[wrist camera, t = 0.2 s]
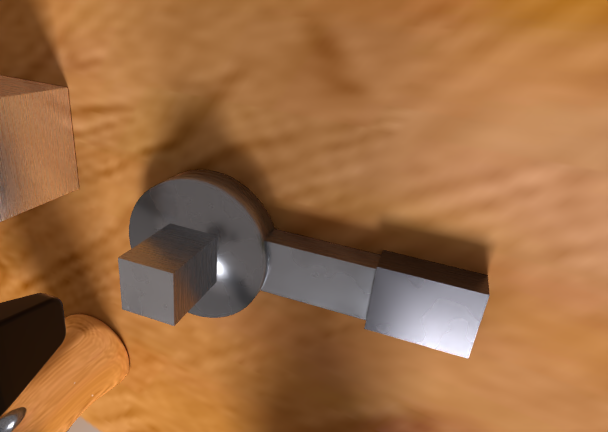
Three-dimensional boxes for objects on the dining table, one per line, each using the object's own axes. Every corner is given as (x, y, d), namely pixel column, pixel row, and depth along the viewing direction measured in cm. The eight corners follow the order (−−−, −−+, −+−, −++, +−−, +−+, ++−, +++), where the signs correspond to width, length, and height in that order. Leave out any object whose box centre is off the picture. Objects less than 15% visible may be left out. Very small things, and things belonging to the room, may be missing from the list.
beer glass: (95, 396, 35) (-130, 622, 21) (39, 324, 33) (-235, 517, 20) (153, 374, 31) (-70, 623, 18) (93, 294, 30) (-190, 499, 17)
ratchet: (153, 278, 28) (82, 336, 23) (148, 156, 25) (63, 191, 19) (457, 368, 23) (455, 466, 18) (501, 233, 20) (514, 306, 15)
